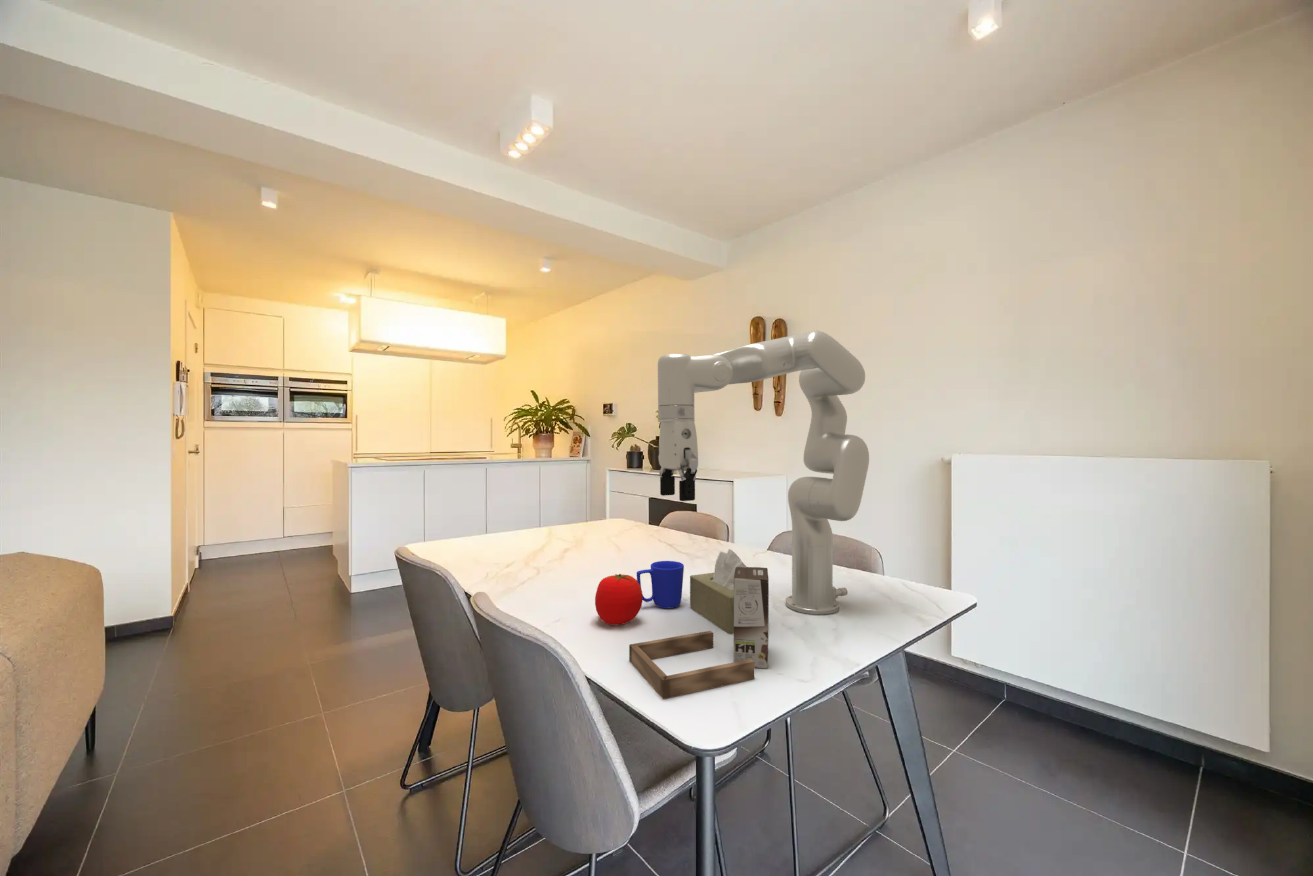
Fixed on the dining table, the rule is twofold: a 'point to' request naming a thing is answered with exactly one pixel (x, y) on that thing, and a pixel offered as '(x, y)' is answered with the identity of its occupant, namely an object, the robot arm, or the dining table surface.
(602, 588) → the tomato
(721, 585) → the tissue box
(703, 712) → the dining table surface
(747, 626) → the coffee box
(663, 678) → the u rest
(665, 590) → the mug
